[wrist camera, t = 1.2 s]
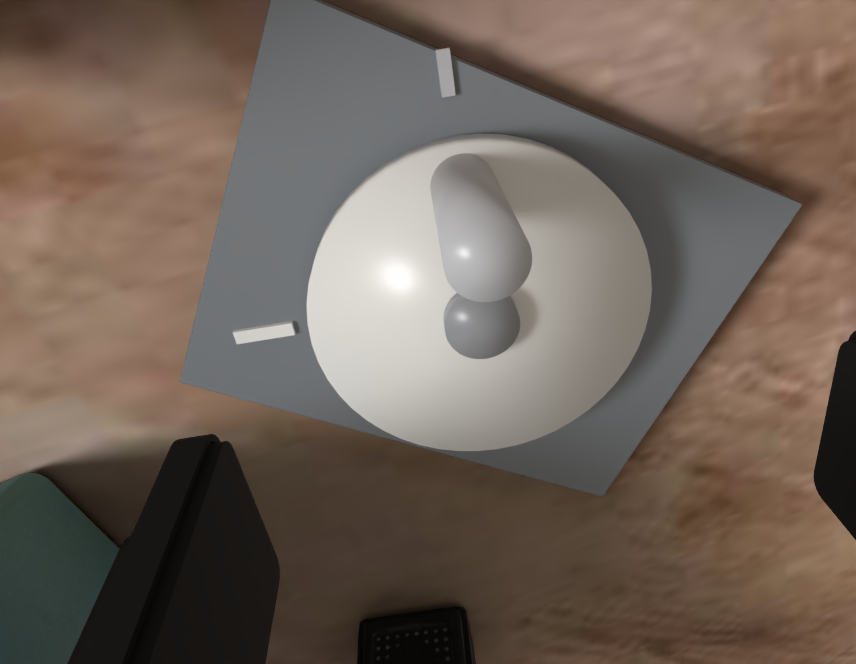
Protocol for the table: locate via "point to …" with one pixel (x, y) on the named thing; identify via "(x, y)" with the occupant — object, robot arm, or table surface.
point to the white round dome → (478, 293)
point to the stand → (411, 127)
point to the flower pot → (46, 571)
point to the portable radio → (417, 638)
